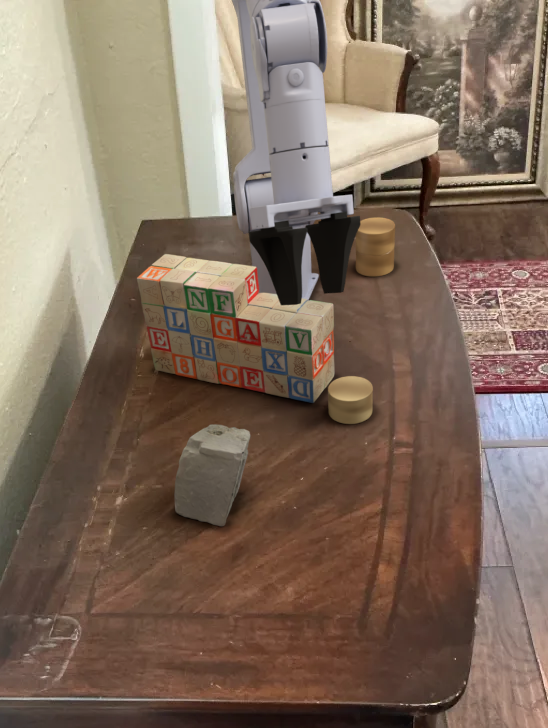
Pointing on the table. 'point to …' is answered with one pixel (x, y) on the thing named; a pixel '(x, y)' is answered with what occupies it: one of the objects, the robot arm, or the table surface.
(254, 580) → the table surface
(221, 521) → the mineral specimen
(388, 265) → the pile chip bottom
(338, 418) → the tan wooden cylinder
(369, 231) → the pile chip top
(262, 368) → the stack of blocks
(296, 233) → the robot arm
